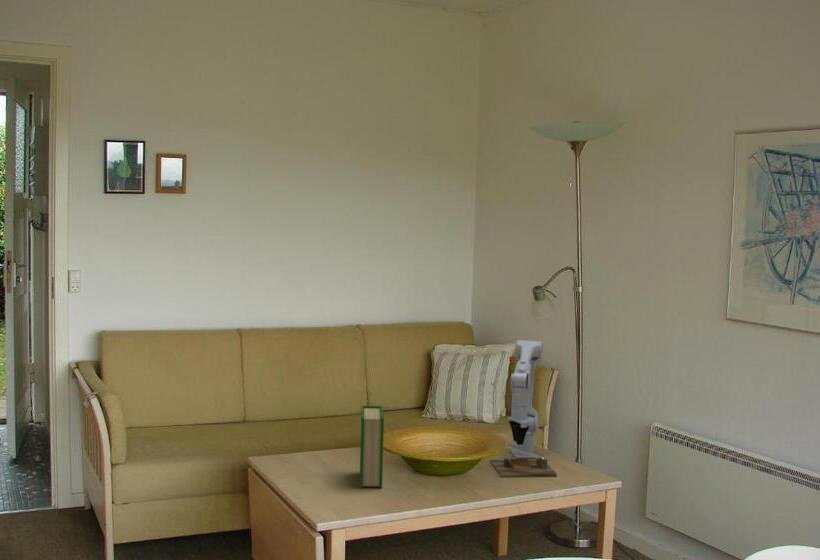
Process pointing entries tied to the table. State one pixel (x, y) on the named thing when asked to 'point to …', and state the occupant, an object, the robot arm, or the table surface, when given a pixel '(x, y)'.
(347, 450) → the table surface
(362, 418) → the hardback book
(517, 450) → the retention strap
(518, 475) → the strap board
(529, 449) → the robot arm
